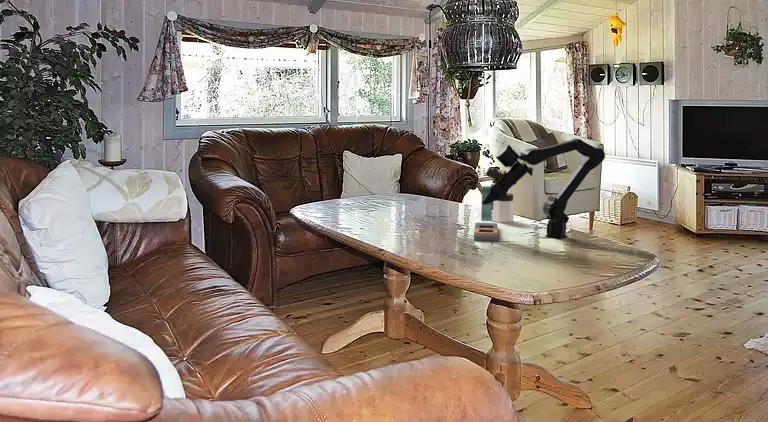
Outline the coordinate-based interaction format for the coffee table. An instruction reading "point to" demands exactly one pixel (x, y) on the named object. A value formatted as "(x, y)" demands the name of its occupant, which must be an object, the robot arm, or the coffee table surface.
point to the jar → (504, 209)
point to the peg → (486, 205)
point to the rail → (486, 232)
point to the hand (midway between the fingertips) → (483, 203)
